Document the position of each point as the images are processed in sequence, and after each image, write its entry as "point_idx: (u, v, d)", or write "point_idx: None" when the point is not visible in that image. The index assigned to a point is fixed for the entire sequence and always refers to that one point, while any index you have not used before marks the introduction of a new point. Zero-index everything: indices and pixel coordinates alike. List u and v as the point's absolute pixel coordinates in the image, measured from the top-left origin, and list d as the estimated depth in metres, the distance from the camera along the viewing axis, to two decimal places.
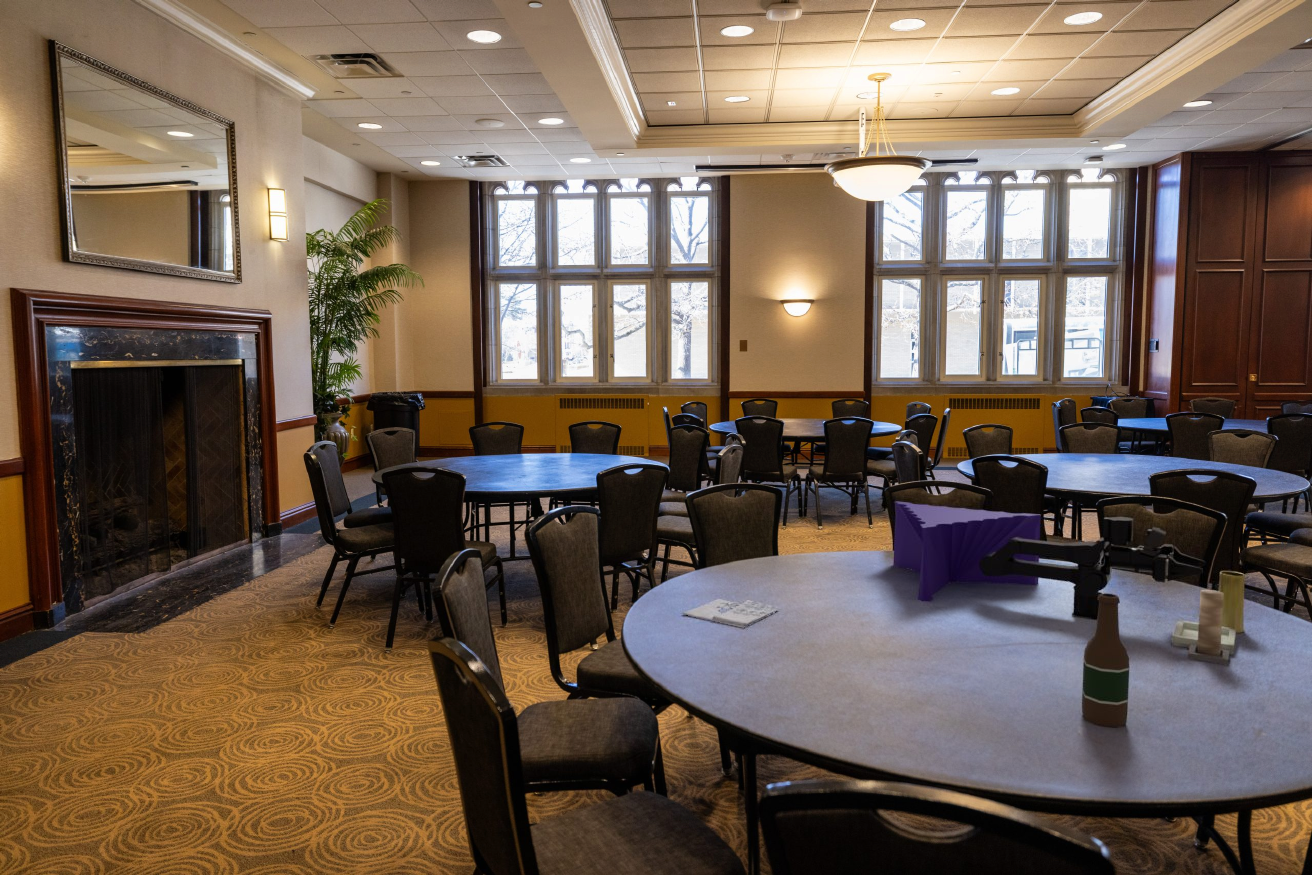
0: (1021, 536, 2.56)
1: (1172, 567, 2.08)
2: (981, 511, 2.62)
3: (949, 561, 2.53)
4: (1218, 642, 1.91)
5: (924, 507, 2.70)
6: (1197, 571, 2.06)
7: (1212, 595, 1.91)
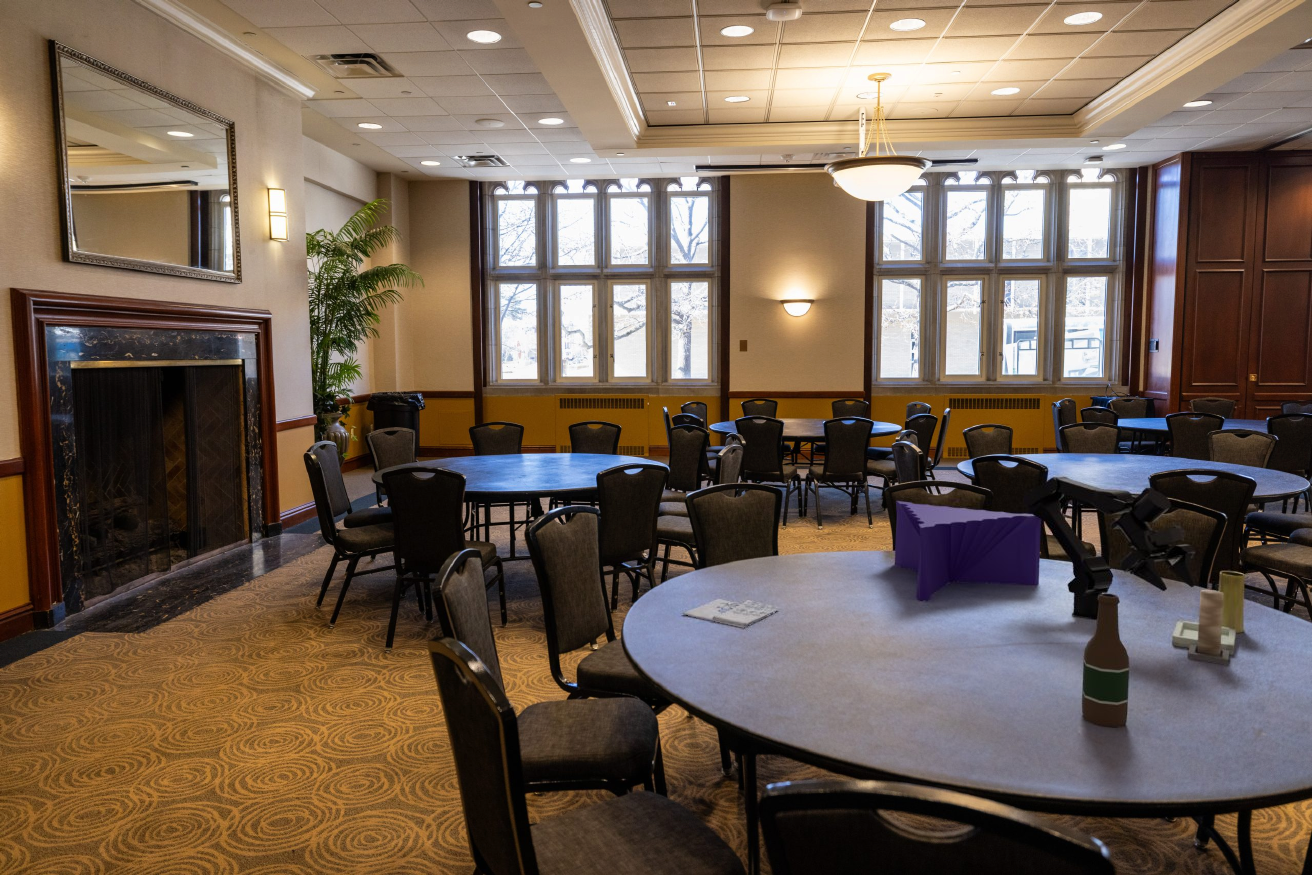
0: (1021, 536, 2.56)
1: (1146, 567, 2.02)
2: (981, 511, 2.62)
3: (948, 561, 2.53)
4: (1218, 642, 1.91)
5: (925, 507, 2.70)
6: (1160, 587, 1.99)
7: (1212, 595, 1.91)
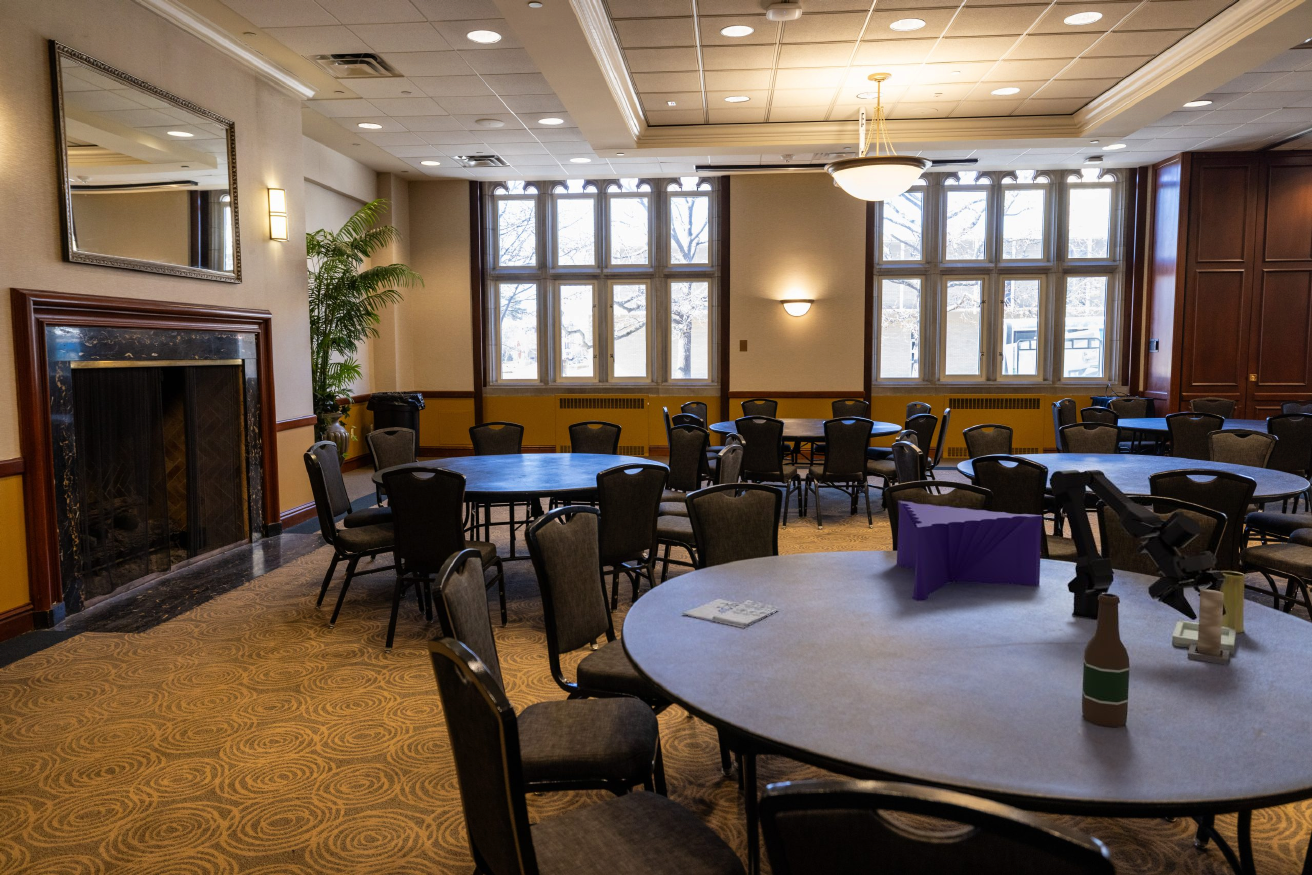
0: (1022, 537, 2.55)
1: (1175, 595, 1.95)
2: (982, 511, 2.61)
3: (947, 561, 2.53)
4: (1218, 642, 1.91)
5: (926, 507, 2.70)
6: (1190, 615, 1.92)
7: (1212, 595, 1.91)
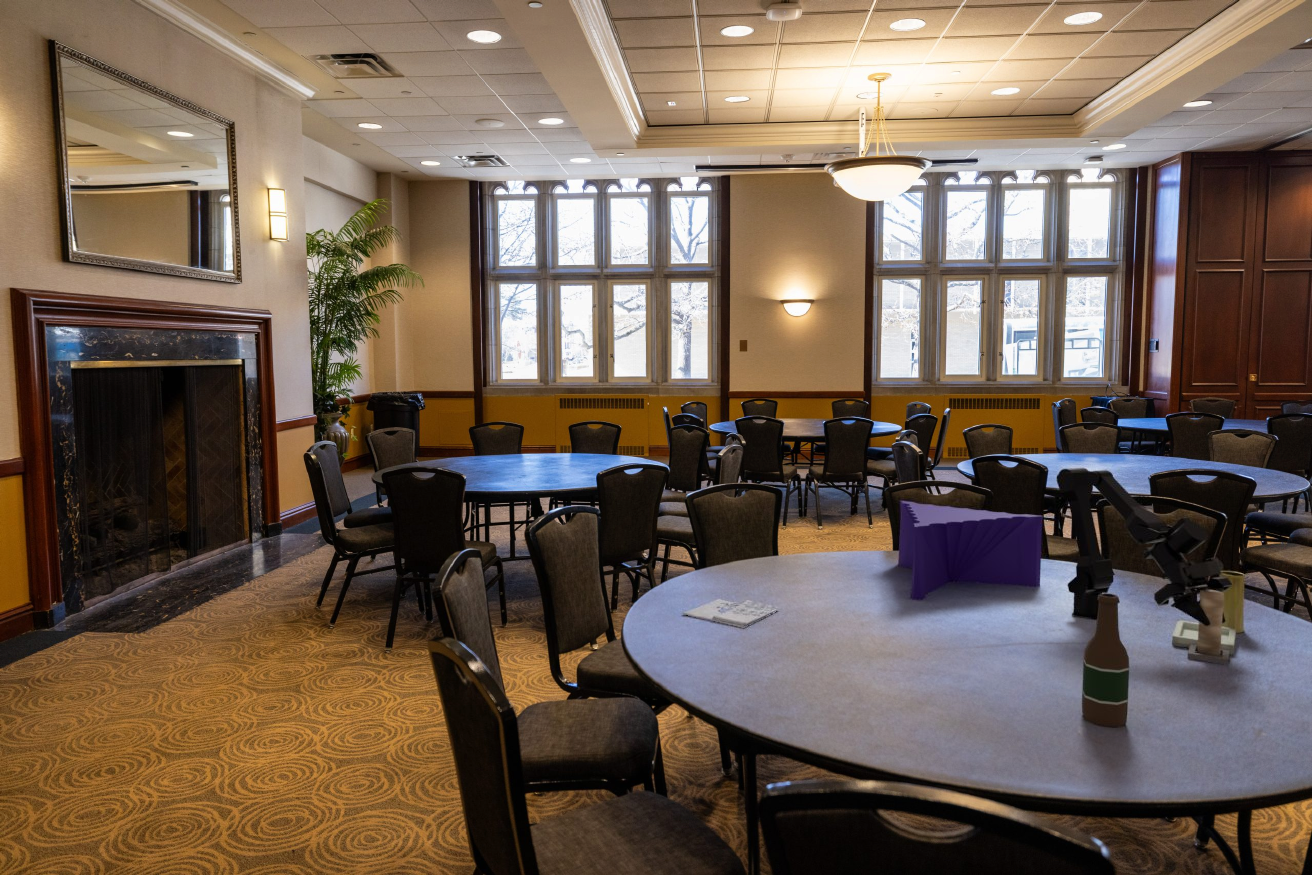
0: (1022, 537, 2.55)
1: (1188, 600, 1.94)
2: (983, 511, 2.61)
3: (946, 561, 2.53)
4: (1218, 642, 1.91)
5: (927, 507, 2.70)
6: (1203, 621, 1.92)
7: (1212, 595, 1.91)
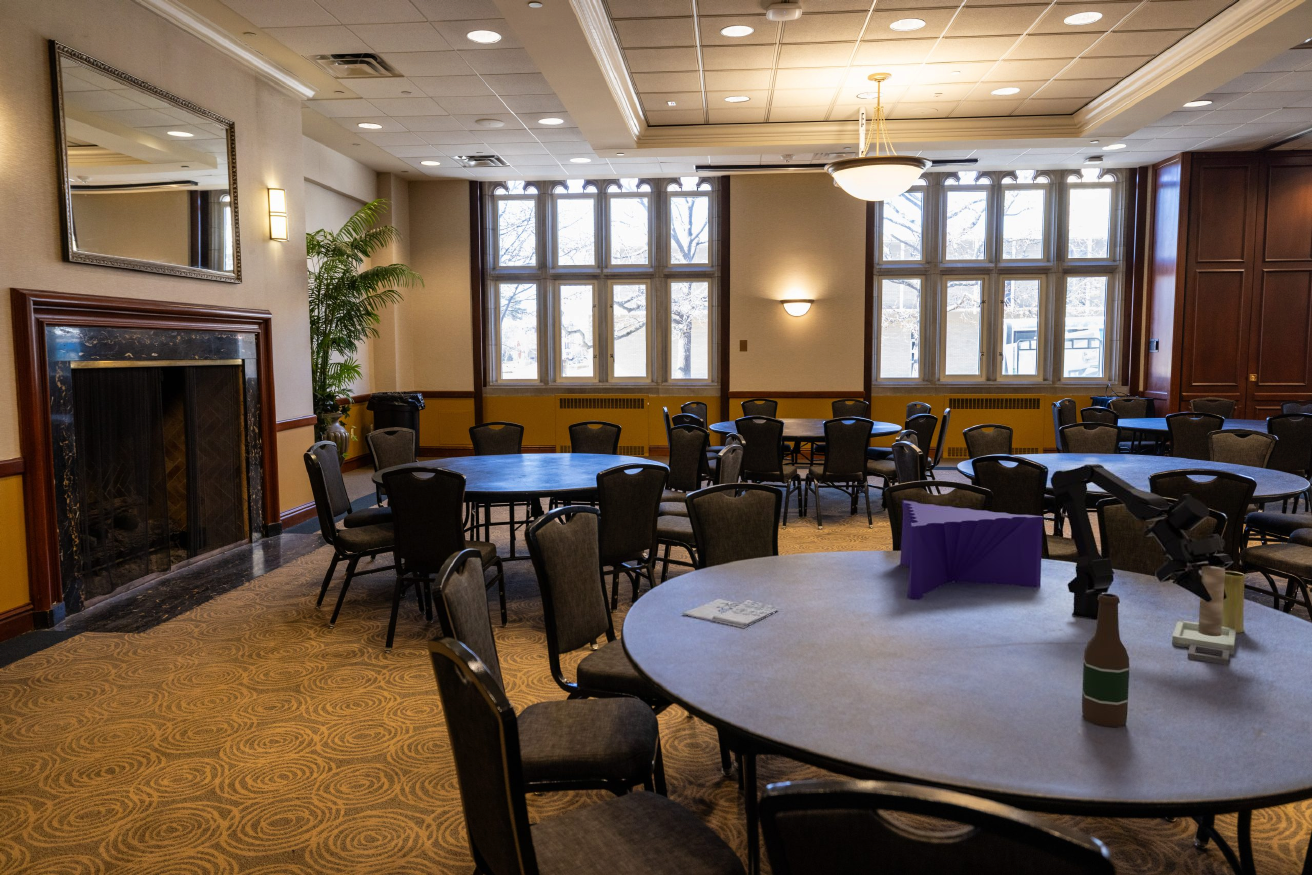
0: (1022, 538, 2.54)
1: (1189, 577, 1.94)
2: (983, 512, 2.61)
3: (945, 561, 2.54)
4: (1219, 618, 1.91)
5: (928, 507, 2.70)
6: (1205, 597, 1.91)
7: (1214, 571, 1.90)
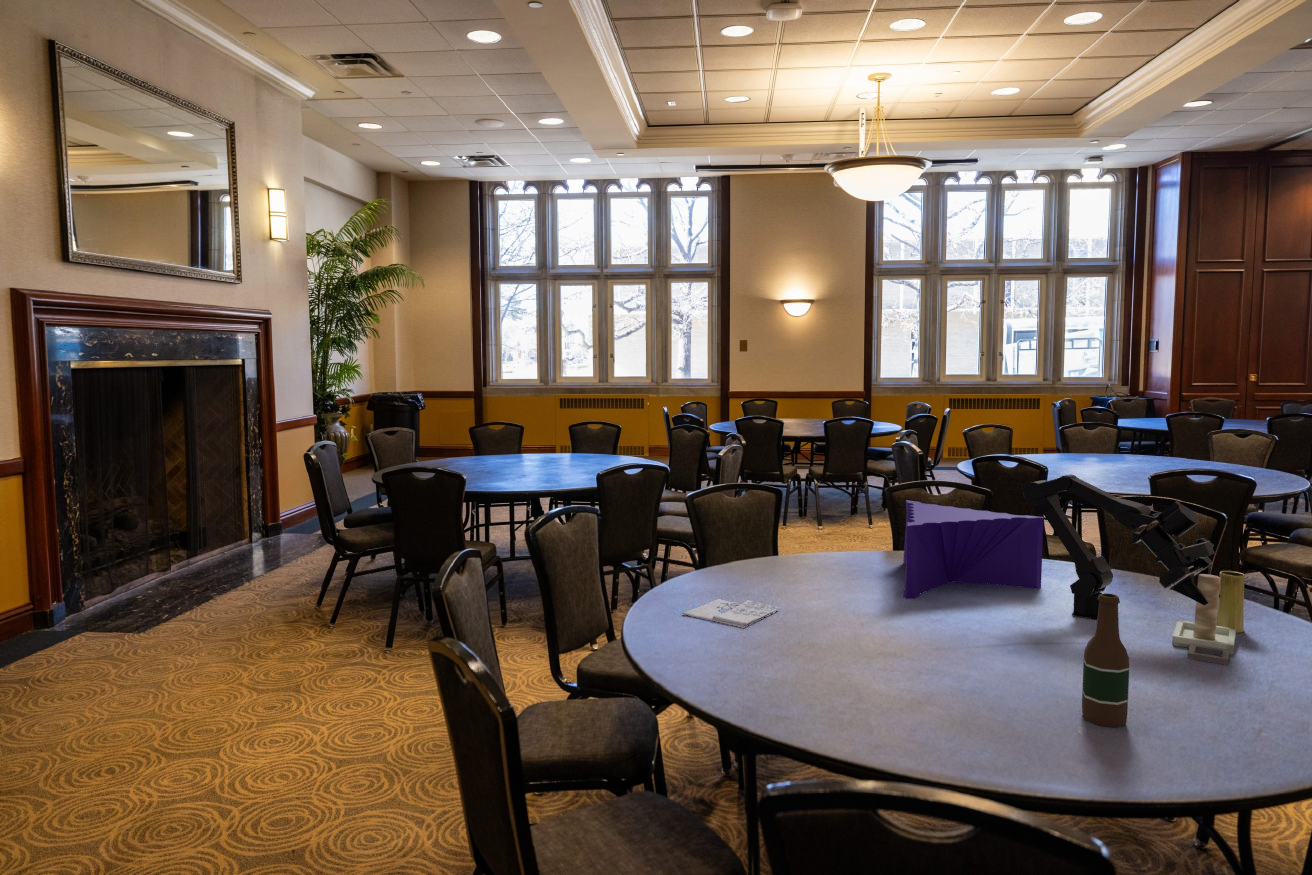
0: (1023, 538, 2.53)
1: (1185, 582, 2.02)
2: (984, 512, 2.60)
3: (944, 560, 2.54)
4: (1215, 623, 2.02)
5: (929, 506, 2.71)
6: (1201, 601, 2.00)
7: (1213, 579, 2.01)
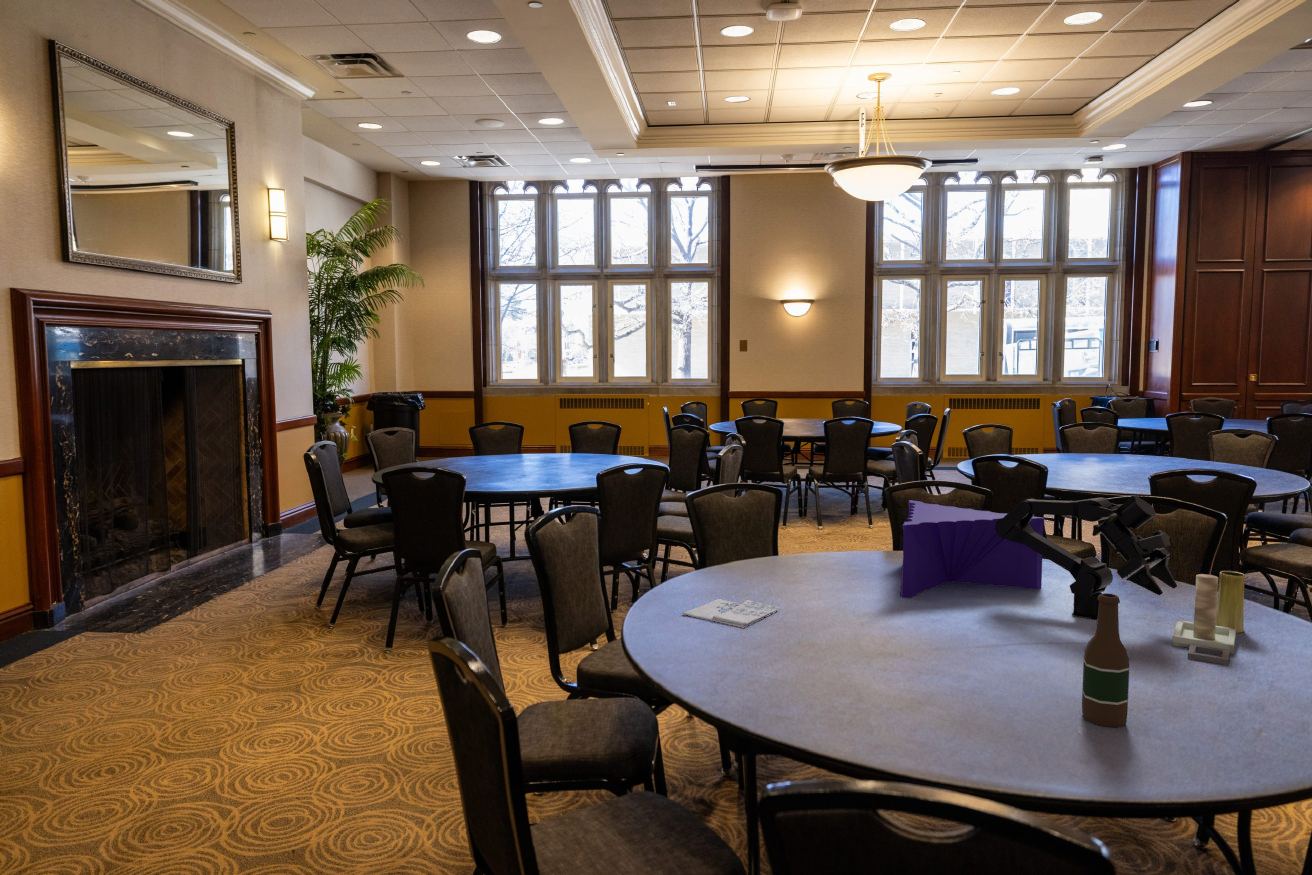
0: None
1: (1141, 573, 2.09)
2: (985, 512, 2.60)
3: (943, 560, 2.54)
4: (1215, 623, 2.02)
5: (931, 506, 2.71)
6: (1156, 591, 2.07)
7: (1211, 579, 2.01)
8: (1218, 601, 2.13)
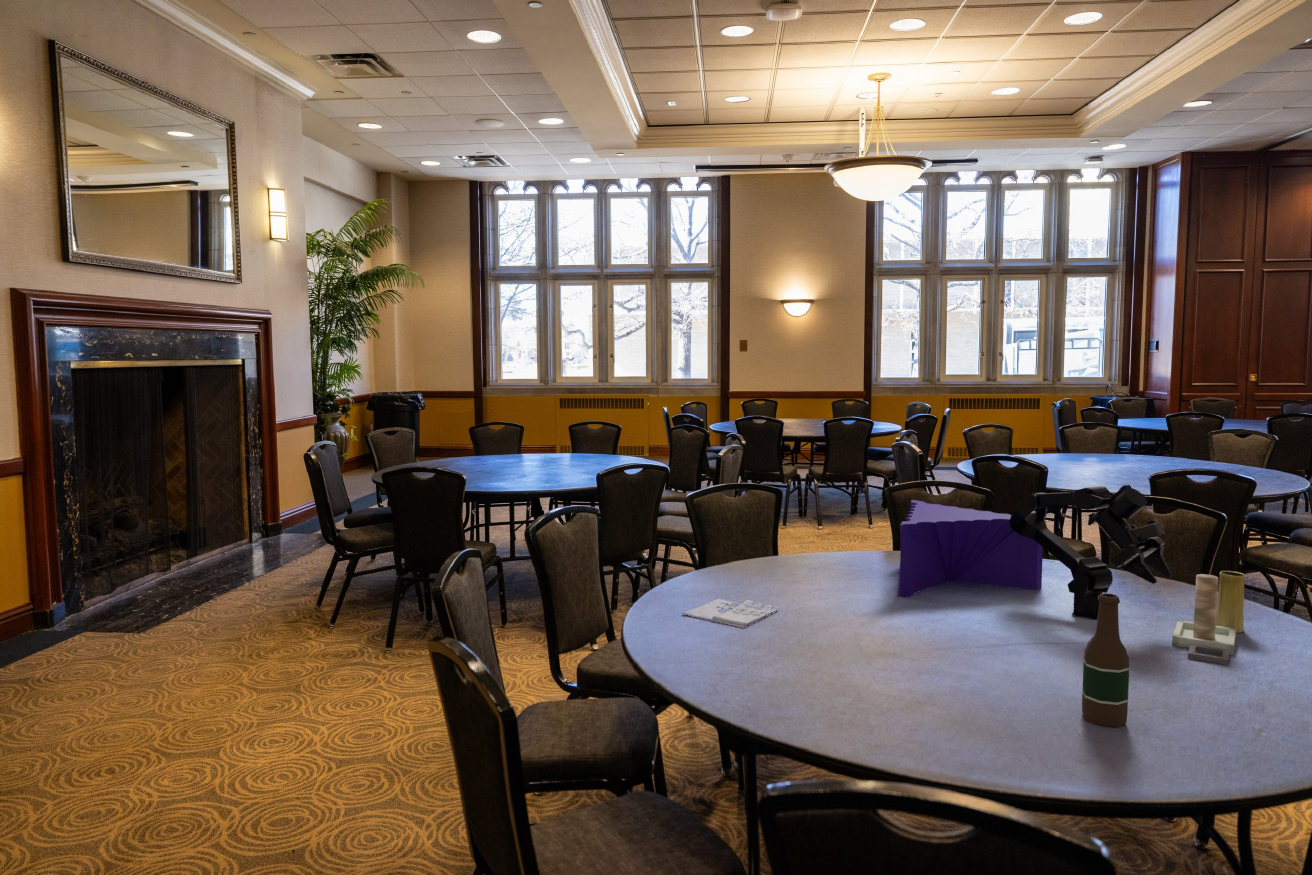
0: (1023, 539, 2.52)
1: (1135, 562, 2.08)
2: (985, 512, 2.60)
3: (942, 560, 2.54)
4: (1215, 623, 2.02)
5: (932, 506, 2.71)
6: (1150, 580, 2.06)
7: (1211, 579, 2.01)
8: (1218, 601, 2.13)
